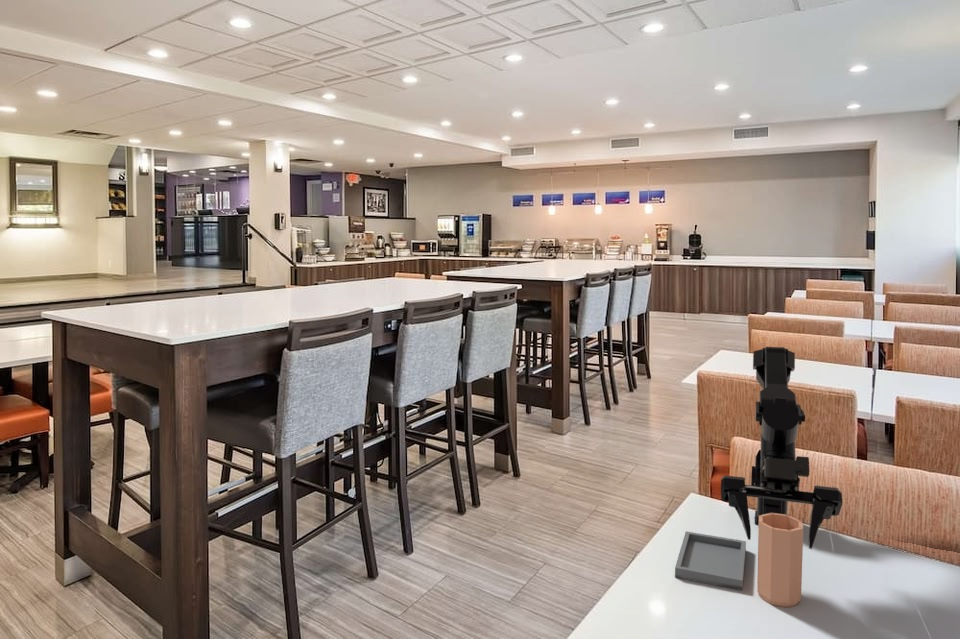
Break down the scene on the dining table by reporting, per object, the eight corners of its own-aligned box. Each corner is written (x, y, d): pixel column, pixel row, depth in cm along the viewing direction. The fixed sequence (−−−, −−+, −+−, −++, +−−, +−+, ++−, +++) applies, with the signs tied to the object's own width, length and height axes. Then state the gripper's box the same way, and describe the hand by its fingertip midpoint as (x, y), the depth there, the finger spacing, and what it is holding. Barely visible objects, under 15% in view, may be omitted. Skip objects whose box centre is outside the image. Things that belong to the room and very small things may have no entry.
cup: (756, 582, 105) (758, 511, 104) (798, 589, 103) (801, 516, 101) (757, 602, 100) (759, 527, 98) (801, 611, 97) (804, 533, 96)
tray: (685, 539, 121) (685, 531, 121) (745, 550, 117) (745, 541, 116) (675, 577, 108) (675, 567, 108) (742, 590, 103) (742, 580, 103)
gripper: (722, 431, 108) (718, 516, 99) (843, 442, 101) (851, 534, 92) (722, 460, 116) (719, 540, 107) (835, 472, 109) (841, 559, 100)
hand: (779, 543), depth 101 cm, fingers open, 9 cm apart
